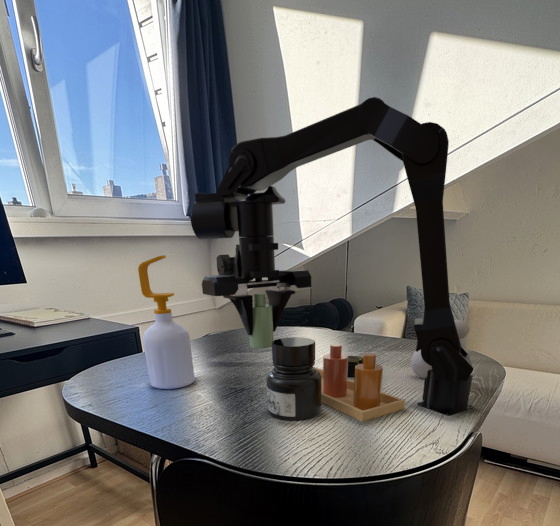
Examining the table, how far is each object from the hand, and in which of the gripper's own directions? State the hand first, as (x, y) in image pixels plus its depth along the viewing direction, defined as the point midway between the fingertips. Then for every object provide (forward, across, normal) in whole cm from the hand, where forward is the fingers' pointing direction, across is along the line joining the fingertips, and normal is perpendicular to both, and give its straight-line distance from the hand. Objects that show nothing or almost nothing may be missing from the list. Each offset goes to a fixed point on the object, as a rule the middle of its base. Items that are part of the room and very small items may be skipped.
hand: (261, 333), depth 73 cm
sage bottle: (+2, 0, 0) cm, 2 cm away
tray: (+12, -10, +9) cm, 18 cm away
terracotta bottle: (+11, -10, +9) cm, 17 cm away
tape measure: (+12, -21, 0) cm, 24 cm away
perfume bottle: (+12, -33, +13) cm, 37 cm away
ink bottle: (+12, +1, +12) cm, 17 cm away
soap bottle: (+11, +12, -17) cm, 24 cm away
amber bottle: (+11, -10, +18) cm, 23 cm away
